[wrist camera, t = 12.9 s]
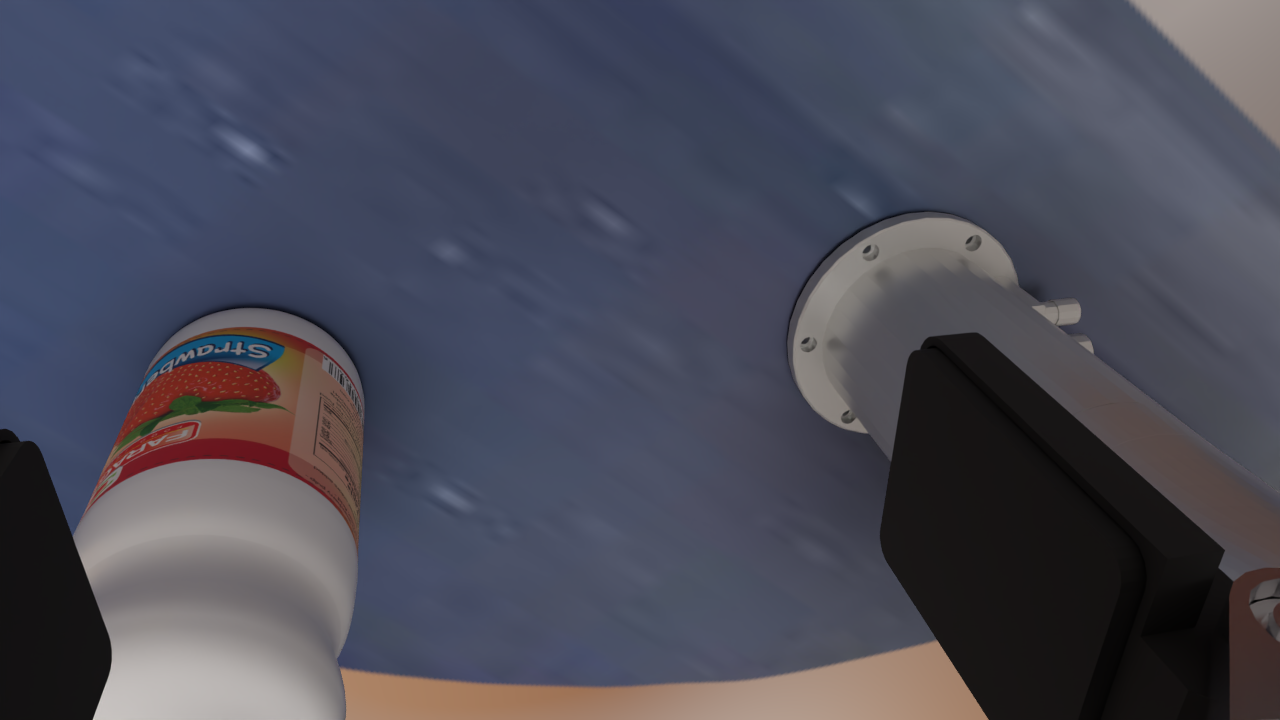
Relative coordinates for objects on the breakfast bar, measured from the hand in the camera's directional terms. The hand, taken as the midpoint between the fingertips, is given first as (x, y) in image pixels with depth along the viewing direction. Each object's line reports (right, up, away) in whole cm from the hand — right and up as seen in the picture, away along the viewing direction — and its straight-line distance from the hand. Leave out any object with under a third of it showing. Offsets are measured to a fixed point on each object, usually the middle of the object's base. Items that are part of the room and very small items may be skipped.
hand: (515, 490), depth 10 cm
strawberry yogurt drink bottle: (-16, 0, +33) cm, 37 cm away
